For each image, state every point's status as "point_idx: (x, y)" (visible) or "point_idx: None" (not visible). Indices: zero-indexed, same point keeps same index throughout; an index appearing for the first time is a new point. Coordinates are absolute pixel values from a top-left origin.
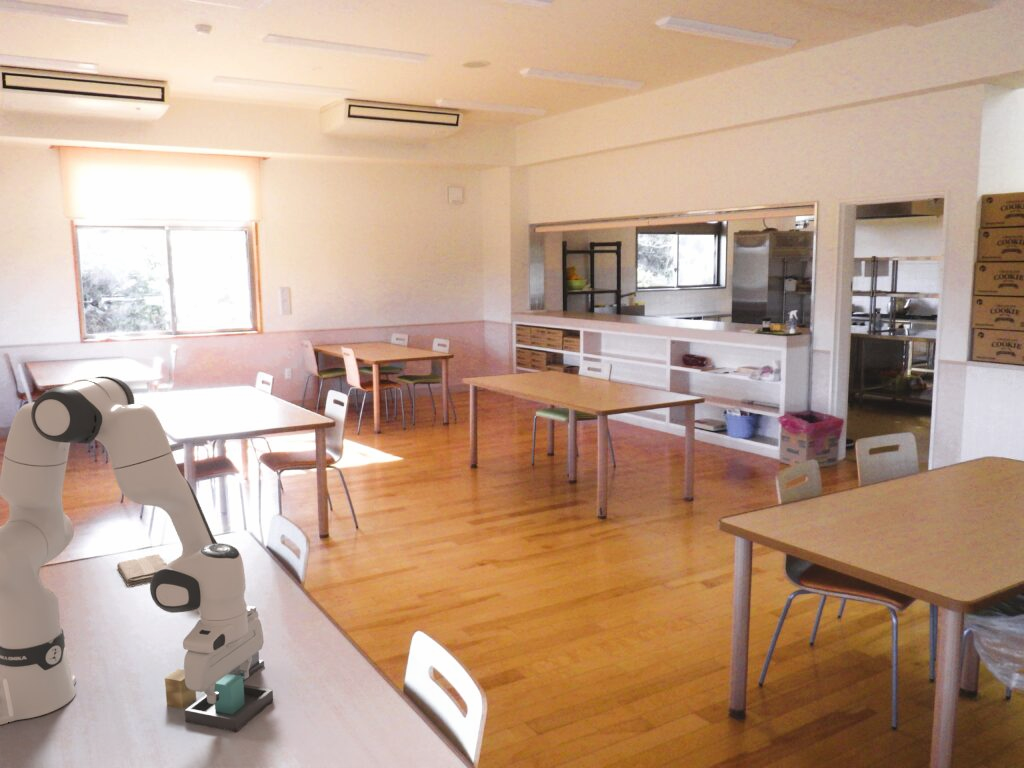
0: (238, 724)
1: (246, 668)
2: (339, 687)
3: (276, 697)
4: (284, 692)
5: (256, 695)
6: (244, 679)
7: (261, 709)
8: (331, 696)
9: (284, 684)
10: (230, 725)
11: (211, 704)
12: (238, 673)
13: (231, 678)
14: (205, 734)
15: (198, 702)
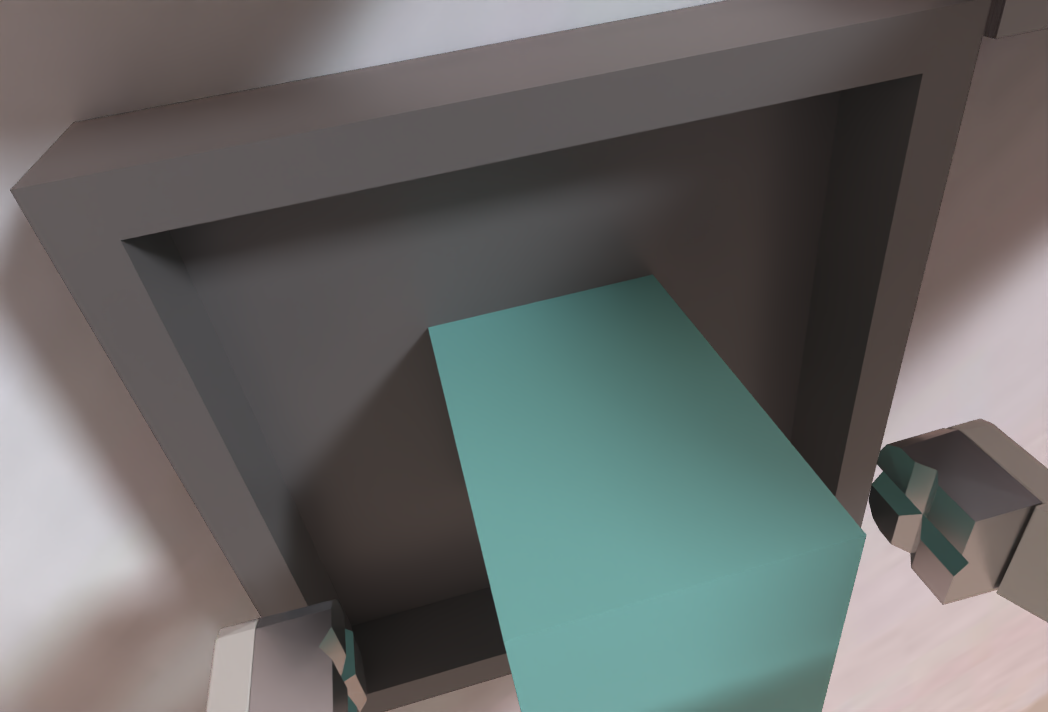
0: None
1: (1041, 600)
2: (991, 623)
3: None
4: None
5: (801, 429)
6: (878, 527)
7: None
8: (896, 658)
9: (1035, 380)
10: None
11: (516, 166)
12: (951, 519)
13: (737, 680)
14: (118, 497)
15: (326, 184)
